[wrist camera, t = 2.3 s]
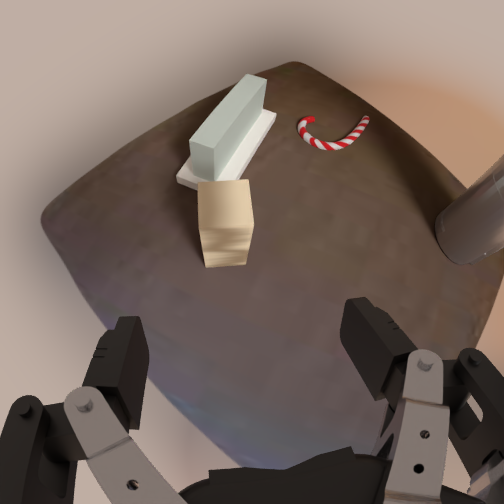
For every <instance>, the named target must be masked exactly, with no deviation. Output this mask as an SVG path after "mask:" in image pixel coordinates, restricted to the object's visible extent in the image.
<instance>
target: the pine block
mask: <svg viewBox="0 0 504 504" xmlns="http://www.w3.org/2000/svg"><path fill="white" fill-rule="evenodd" d="M198 221H199V232H200V238H201V244H202V250H203V255H204V261H205V266H206V267H219V266H233V265H246V261H247V256H248V251H249V246H250V241H251V237H252V232H253V227H254V220H253V212H252V204H251V196H250V188H249V180H227V181H210V182H198Z"/></svg>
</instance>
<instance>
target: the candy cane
mask: <svg viewBox="0 0 504 504" xmlns="http://www.w3.org/2000/svg"><path fill="white" fill-rule="evenodd" d="M369 120H370V119H369V117H368V116H364V117H363V118H362V120H361V121H360V123H359V124H358V125H357V127H356V128H355V129H354V130H353V131H352V132H351V133H350V134H349V135H348V136H347V137H345V138H344V139H342V140H340V141H337V142H323V141H320V140H318V139H315V138H314V137H312V136H311V135H310V134H308V132H307V131H306V129H305V125H306V124H308V123H311V122H314V121H315V118H314V116H308V117H305V118H303V119H301V120H300V122H299V123H298V132H299V135H300V136H301V137H302V138H303V139H304V140H305V141H306V142H307V143H309V144H310V145H312V146H314V147H317V148H320V149H324V150H337V149H341V148H344V147H346V146H348V145H350V144H351V143H352V142H353V141H354V140H355V139H356V138H357V137H358V136H359V135H360V134H361V133H362V132H363V130H364V129H365V127H366V126H367V124H368V122H369Z"/></svg>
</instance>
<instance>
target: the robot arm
mask: <svg viewBox="0 0 504 504" xmlns="http://www.w3.org/2000/svg"><path fill="white" fill-rule="evenodd" d="M435 233H436V237H437V240H438V243H439V245H440V247H441V249H442V250H443V252H444V253H445V254H446V256H447V257H448V258H449V259H450V260H452V261H453V262H455V263H457V264H460V265H464V264H467V263H470V264H472V265H473V264H475V263H477V262H479V261H481V260H482V259H484V258H486V257H488V256H489V255H491V254H493V253H494V252H496V251H498V250H500V249H501V248H503V247H504V155H503V156H502V157H501V158H500V159H499V160H498V161H497V162H496V163H495V164H494V165H493V166H492V167H491V168H490V169H488V170H487V171H486V172H485V173H484V174H483V175H482V176H481V177H480V178H479V179H478V180H477V181H476V182H475V183H474V184H473V185H471V186H470V187H469V188H468V189H467V190H466V191H465V192H464V193H463V194H461V195H460V196H459V197H458V198H457V199H456V200H455V201H453V202H452V203H451V204H450V205H449V206H448V207H447V208H445V209H444V210H443V211H442V212H441V213H440V214H439V215H438V216H437V218H436V221H435ZM340 339H341V342H342V345H343V346H344V348H345V350H346V351H347V353H348V355H349V357H350V358H351V360H352V362H353V363H354V365H355V367H356V369H357V370H358V372H359V374H360V375H361V377H362V379H363V381H364V382H365V384H366V386H367V388H368V389H369V391H370V393H371V395H372V396H373V398H374V400H375V401H377V400H381V399H384V398H386V399H387V401H388V403H387V405H386V407H385V411H384V415H383V419H382V423H381V427H380V430H379V434H378V437H377V441H376V443H375V446H374V448H373V450H372V452H371V454H370V455H366V454H354V452H353V450H352V448H351V446H350V447H346V448H343V449H339V450H336V451H332V452H328V453H324V454H320V455H317V456H315V457H313V458H311V459H309V460H307V461H304V462H302V463H300V464H298V465H295V466H293V467H291V468H288V469H285V470H275V469H259V468H248V467H243V468H232V469H220V470H209V478H208V479H204V480H201V481H199V482H196V483H194V484H192V485H190V486H188V487H186V488H185V489H183V490H182V491H180V492H179V493H177V492H176V491H175V490H174V489H173V488H172V487H171V486H170V484H169V483H168V482H167V481H166V480H165V479H164V478H163V476H162V475H161V474H160V473H159V472H158V471H157V470H156V468H155V467H154V466H153V465H152V463H151V462H150V461H149V460H148V458H147V457H146V456H145V455H144V453H143V452H142V451H141V449H140V448H139V447H138V446H137V444H136V443H135V442H134V440H133V439H132V438H131V437H130V436H129V435H128V434H129V429H135V430H139V426H140V418H141V411H142V404H143V397H144V390H145V383H146V378H147V371H148V366H149V349H148V345H147V342H146V338H145V334H144V331H143V327H142V323H141V320H140V317H139V316H127V317H119V319H118V321H117V324H116V327H115V329H114V330H107V331H106V332H105V333H104V335H103V336H102V337H101V338H100V339H99V342H98V344H97V347H96V350H95V352H94V354H93V358H92V360H91V362H90V365H89V368H88V370H87V373H86V376H85V379H84V382H83V384H82V387H79V388H77V389H75V390H73V391H72V392H70V393H69V394H68V396H67V397H66V399H65V402H63V403H57V404H51V405H44V406H43V404H42V403H41V401H40V400H39V399H38V398H37V397H35V396H32V395H26V396H22V397H20V398H18V399H17V400H16V401H15V402H14V403H13V404H12V406H11V408H10V411H9V414H8V416H7V419H6V422H5V425H4V427H3V430H2V433H1V436H0V504H73V499H74V488H75V479H76V470H77V462H78V460H85V459H86V462H87V464H88V466H89V468H90V470H91V471H92V473H93V475H94V477H95V478H96V480H97V482H98V483H99V485H100V486H101V488H102V490H103V491H104V493H105V494H106V495H107V497H108V498H109V500H110V502H111V503H112V504H504V377H503V376H502V375H501V373H500V372H499V371H498V370H497V369H496V367H495V366H494V365H493V364H492V363H491V362H490V361H489V359H488V358H487V357H486V356H485V355H484V354H483V353H482V352H481V351H479V350H477V349H474V348H465V349H463V350H462V351H461V352H460V354H459V356H458V358H457V359H456V360H441V359H440V357H439V356H438V355H437V354H435V353H433V352H431V351H429V350H423V349H420V350H418V349H417V347H416V346H415V345H414V344H413V343H412V341H411V340H410V339H409V338H408V337H407V335H406V334H405V333H404V332H403V331H402V330H401V329H399V326H398V325H397V324H396V323H394V320H393V319H392V318H391V317H390V316H389V314H388V313H386V312H385V311H383V310H381V309H380V308H378V307H374V306H373V305H372V304H371V302H370V301H369V300H368V299H367V298H366V297H360V298H353V299H348V300H347V301H346V303H345V307H344V313H343V318H342V323H341V328H340ZM471 395H472V396H473V398H474V399H475V400H476V402H477V403H478V405H479V406H480V408H481V409H482V412H483V419H482V422H480V421H479V419H478V418H477V416H476V415H475V413H474V412H473V410H472V409H471V407H470V406H469V404H468V403H467V400H468V399H469V397H470V396H471ZM448 437H449V439H450V440H451V442H452V444H453V446H454V448H455V450H456V451H457V453H458V455H459V457H460V459H461V460H462V462H463V464H464V466H465V468H466V470H467V472H468V474H469V476H470V478H471V481H470V487H469V488H468V490H467V494H465V493H462V492H460V491H457V490H454V489H452V488H449V487H447V486H444V485H442V480H443V474H444V467H445V460H446V452H447V443H448Z"/></svg>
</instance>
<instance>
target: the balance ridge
mask: <svg viewBox="0 0 504 504" xmlns="http://www.w3.org/2000/svg"><path fill="white" fill-rule="evenodd" d="M266 83H267V79H263V78H260V77H257V76H253V75H250V74H246V75H245V76H244V77H243V78H242V79H241V80H240V81H239V83H238V84H237V85H236V86H235V87H234V88H233V89H232V90H231V91H230V92H229V93H228V95H227V96H226V97H225V98H224V99H223V100H222V101H221V103H220V104H219V105H218V106H217V107H216V108H215V109H214V111H213V112H212V113H211V114H210V115H209V116H208V118H207V119H206V120H205V121H204V122H203V124H202V125H201V126H200V127H199V129H198V130H197V131H196V132H195V133H194V135H193V136H192V137H191V138H190V140H189V143H190V152H191V156H190V157H189V158H188V160H187V161H186V162H185V164H184V165H183V167H182V168H181V169H180V171H179V172H178V174H177V175H176V178H177V183H180V184H182V185H185V186H187V187H190V188H192V189H195V190H197V191H198V182H210V181H227V180H239V178H240V177H241V175H242V173H243V172H244V170H245V168H246V167H247V165H248V163H249V162H250V160H251V158H252V157H253V155H254V153H255V152H256V150H257V148H258V147H259V145H260V144H261V142H262V140H263V139H264V137H265V135H266V134H267V132H268V131H269V129H270V127H271V126H272V124H273V123H274V121H275V118H276V113H273V112H270V111H267V110H265V109H262V108H263V102H264V95H265V89H266Z"/></svg>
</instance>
